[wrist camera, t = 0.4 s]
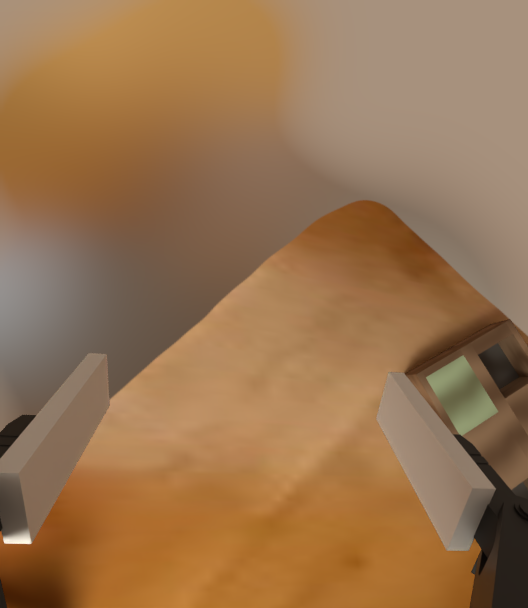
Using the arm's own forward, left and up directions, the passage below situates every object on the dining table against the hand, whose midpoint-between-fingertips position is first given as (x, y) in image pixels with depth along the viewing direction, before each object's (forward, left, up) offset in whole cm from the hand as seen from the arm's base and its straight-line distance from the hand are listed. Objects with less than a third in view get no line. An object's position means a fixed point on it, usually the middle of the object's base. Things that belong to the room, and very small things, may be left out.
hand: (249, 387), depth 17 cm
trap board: (-24, -33, -35) cm, 54 cm away
